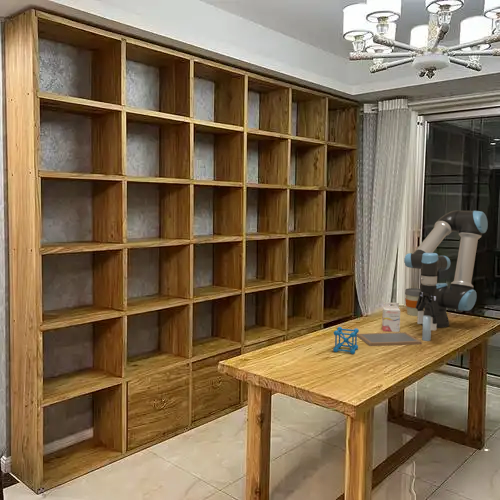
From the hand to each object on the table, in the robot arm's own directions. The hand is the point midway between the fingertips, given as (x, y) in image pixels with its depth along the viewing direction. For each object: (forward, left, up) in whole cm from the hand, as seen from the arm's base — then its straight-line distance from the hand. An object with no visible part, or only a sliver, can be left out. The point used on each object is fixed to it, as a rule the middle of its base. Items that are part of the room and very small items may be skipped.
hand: (426, 326), depth 262 cm
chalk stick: (0, 0, -7) cm, 7 cm away
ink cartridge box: (+10, -20, -7) cm, 23 cm away
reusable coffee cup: (-21, -56, -7) cm, 61 cm away
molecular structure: (+46, +13, -7) cm, 48 cm away
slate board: (+19, -2, -7) cm, 20 cm away
